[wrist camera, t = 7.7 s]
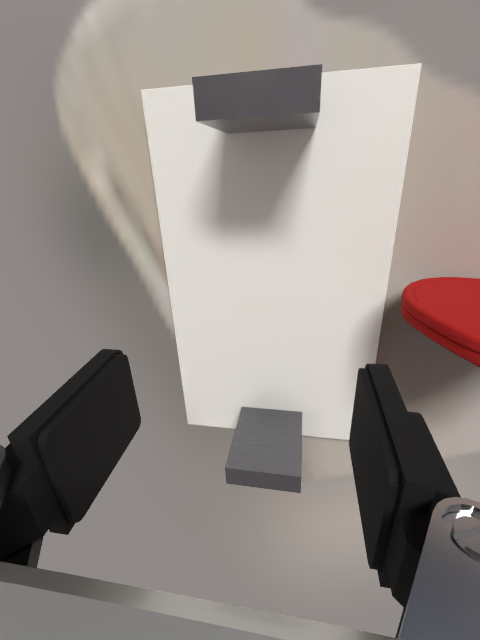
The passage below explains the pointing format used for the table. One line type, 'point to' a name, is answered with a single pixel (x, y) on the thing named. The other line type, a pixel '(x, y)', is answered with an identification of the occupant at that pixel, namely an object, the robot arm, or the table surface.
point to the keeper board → (278, 247)
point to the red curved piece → (446, 313)
